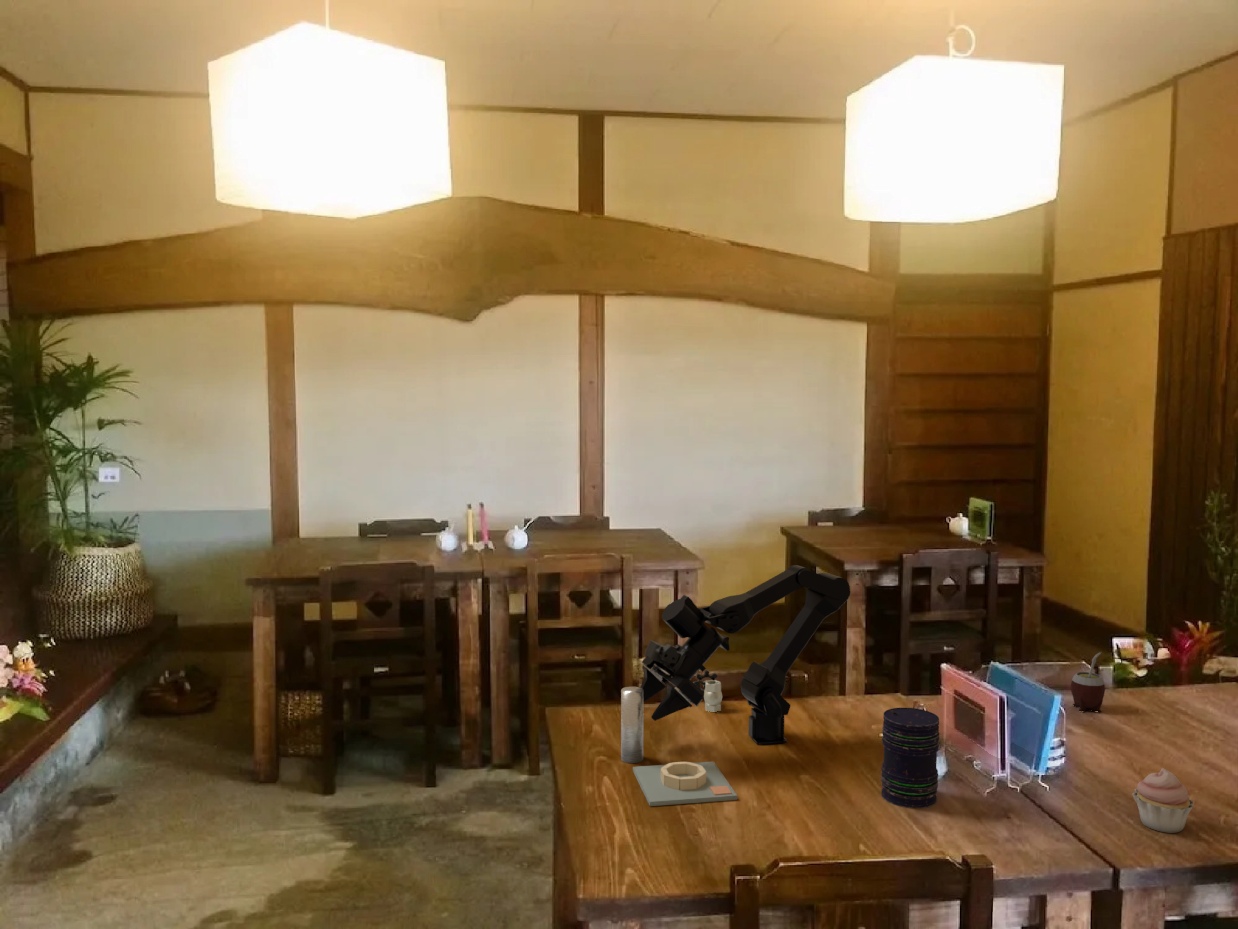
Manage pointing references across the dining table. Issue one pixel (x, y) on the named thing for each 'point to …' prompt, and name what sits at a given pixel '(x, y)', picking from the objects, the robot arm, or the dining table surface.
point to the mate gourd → (1088, 689)
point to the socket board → (683, 783)
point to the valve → (710, 691)
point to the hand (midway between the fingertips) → (643, 711)
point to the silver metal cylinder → (632, 724)
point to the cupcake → (1163, 802)
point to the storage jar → (910, 757)
